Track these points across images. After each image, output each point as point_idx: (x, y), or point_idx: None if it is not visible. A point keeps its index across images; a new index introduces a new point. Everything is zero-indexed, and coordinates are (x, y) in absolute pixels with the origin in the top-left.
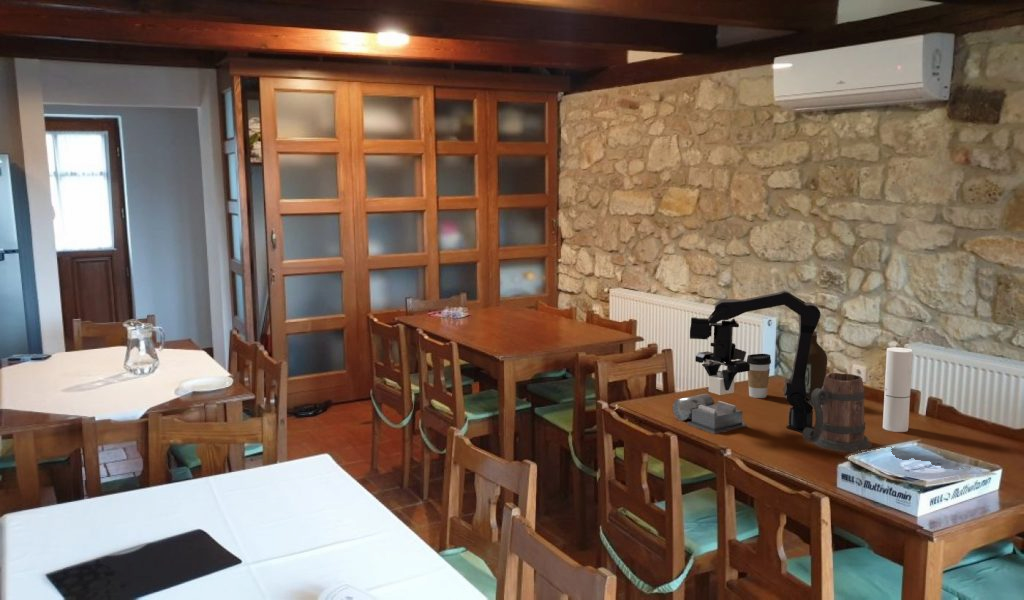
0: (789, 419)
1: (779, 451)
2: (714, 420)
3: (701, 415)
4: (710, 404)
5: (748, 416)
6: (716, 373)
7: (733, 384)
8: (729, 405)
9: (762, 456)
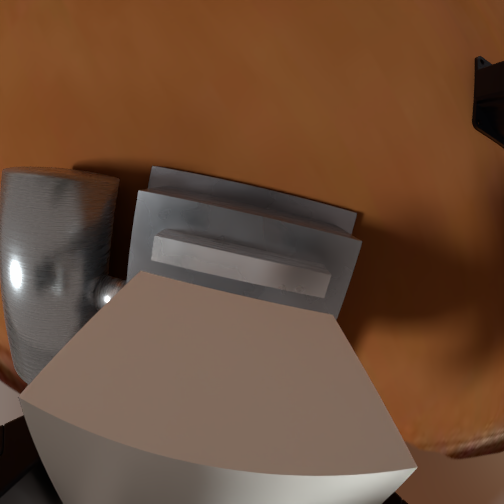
0: (490, 99)
1: (496, 366)
2: None
3: None
4: (96, 220)
5: (267, 49)
6: (33, 497)
7: (362, 386)
8: (282, 289)
9: (464, 418)
